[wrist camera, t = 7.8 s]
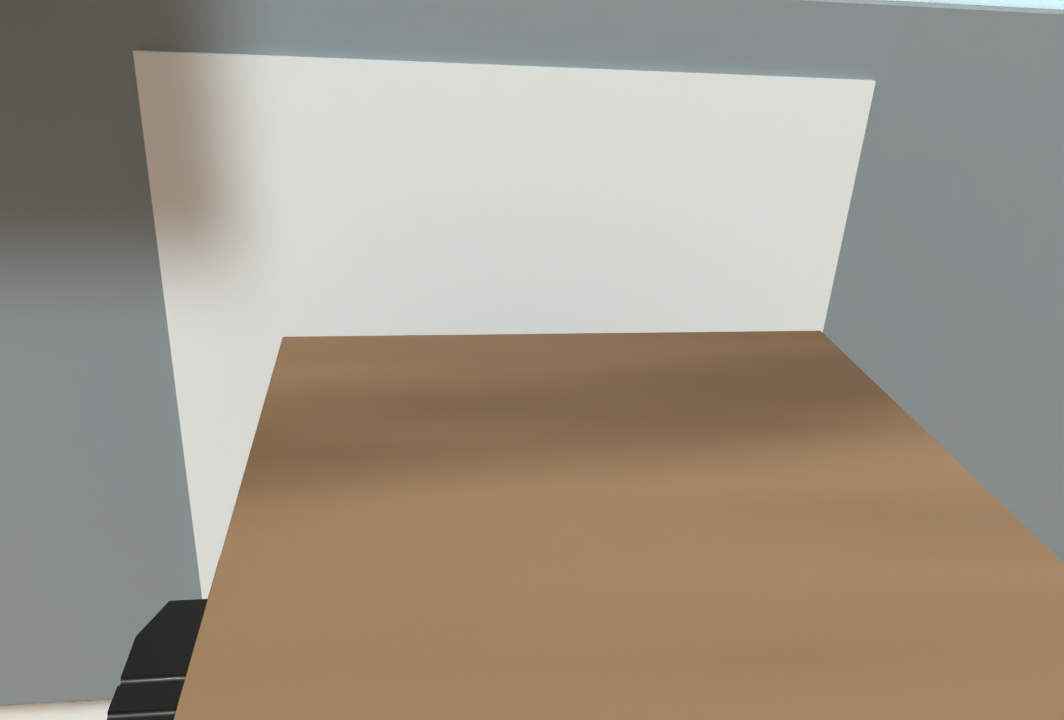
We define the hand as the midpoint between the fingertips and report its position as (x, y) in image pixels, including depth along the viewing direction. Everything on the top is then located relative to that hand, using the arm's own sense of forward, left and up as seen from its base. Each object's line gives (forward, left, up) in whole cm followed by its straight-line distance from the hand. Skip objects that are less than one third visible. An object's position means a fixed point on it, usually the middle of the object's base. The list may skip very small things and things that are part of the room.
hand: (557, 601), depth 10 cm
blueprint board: (0, 0, -6) cm, 6 cm away
